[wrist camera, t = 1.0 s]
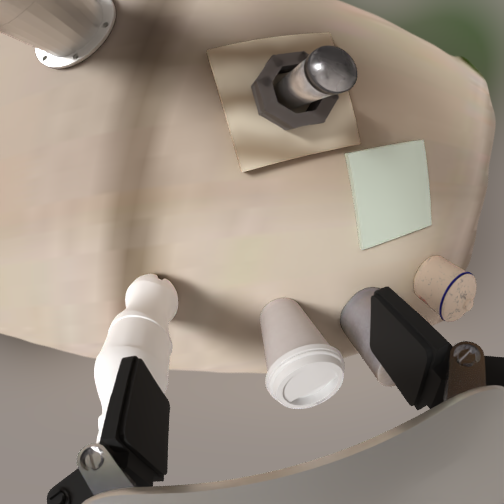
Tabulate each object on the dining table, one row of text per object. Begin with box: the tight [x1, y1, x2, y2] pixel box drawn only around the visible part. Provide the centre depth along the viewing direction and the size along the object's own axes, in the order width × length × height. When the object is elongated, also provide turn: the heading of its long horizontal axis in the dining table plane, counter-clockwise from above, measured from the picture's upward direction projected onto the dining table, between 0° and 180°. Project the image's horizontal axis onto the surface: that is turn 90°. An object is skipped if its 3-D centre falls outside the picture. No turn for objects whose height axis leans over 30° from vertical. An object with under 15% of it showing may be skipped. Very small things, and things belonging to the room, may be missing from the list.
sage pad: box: [345, 140, 431, 250], centre depth 38 cm, size 14×14×1 cm
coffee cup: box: [260, 298, 344, 409], centre depth 36 cm, size 10×10×15 cm
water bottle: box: [94, 274, 178, 444], centre depth 27 cm, size 7×7×25 cm
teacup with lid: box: [414, 255, 477, 322], centre depth 40 cm, size 12×9×12 cm
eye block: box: [207, 32, 361, 172], centre depth 29 cm, size 16×16×6 cm
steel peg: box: [274, 46, 357, 109], centre depth 24 cm, size 4×4×13 cm
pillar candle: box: [340, 287, 395, 386], centre depth 38 cm, size 10×10×15 cm
